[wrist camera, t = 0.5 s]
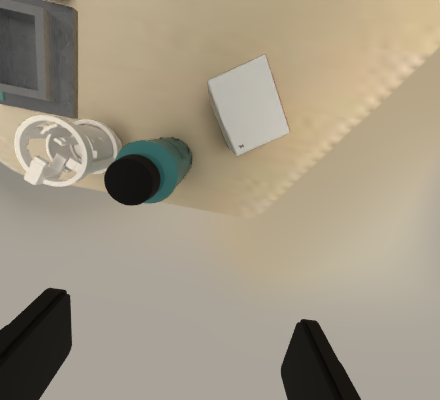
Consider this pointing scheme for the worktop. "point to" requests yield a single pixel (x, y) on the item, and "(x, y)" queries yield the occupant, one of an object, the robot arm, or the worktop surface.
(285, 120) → the small box
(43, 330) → the robot arm
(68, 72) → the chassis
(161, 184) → the beverage bottle
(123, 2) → the worktop surface
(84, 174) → the clear white hollow cylinder
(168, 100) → the worktop surface
